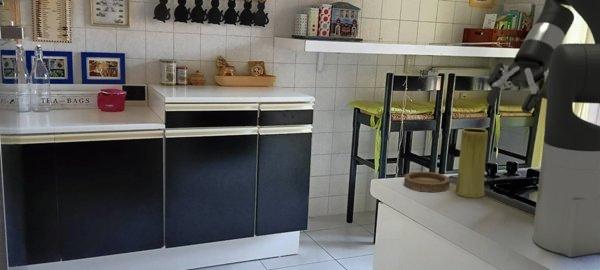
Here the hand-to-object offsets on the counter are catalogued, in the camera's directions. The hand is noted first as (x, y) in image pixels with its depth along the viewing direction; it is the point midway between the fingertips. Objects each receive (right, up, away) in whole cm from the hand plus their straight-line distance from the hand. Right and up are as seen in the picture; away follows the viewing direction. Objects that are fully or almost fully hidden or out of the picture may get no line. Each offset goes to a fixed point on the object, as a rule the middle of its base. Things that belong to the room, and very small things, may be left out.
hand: (506, 107), depth 111 cm
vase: (-9, -19, -1) cm, 21 cm away
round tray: (-17, -18, +5) cm, 25 cm away
